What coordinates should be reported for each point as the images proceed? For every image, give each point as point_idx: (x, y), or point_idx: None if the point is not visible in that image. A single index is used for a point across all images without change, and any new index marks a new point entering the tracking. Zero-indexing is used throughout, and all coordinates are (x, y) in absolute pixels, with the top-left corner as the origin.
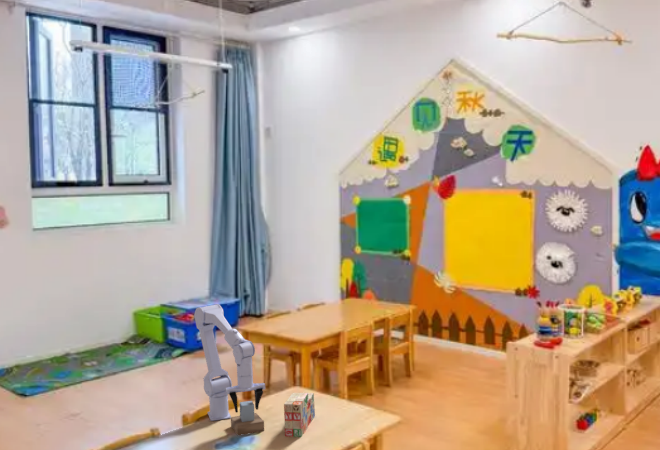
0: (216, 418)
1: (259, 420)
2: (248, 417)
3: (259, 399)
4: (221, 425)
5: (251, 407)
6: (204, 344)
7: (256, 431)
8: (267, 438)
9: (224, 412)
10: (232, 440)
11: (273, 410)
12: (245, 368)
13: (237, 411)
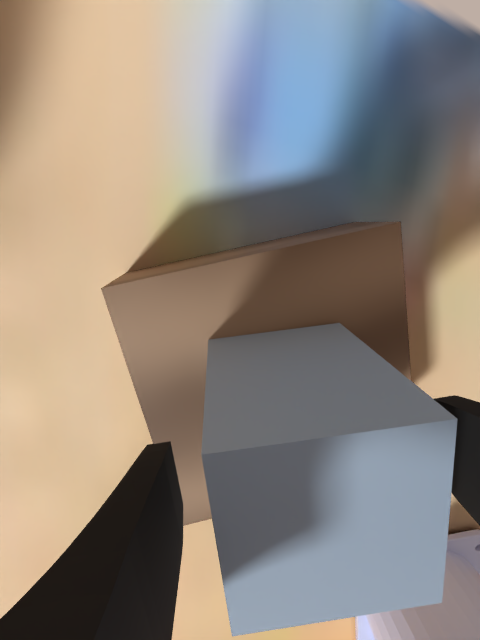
0: (449, 548)
1: (152, 325)
2: (278, 347)
3: (40, 593)
4: None
5: (253, 415)
6: None
7: (195, 257)
8: (93, 56)
9: None
10: (415, 120)
11: None
12: None
13: (447, 402)
